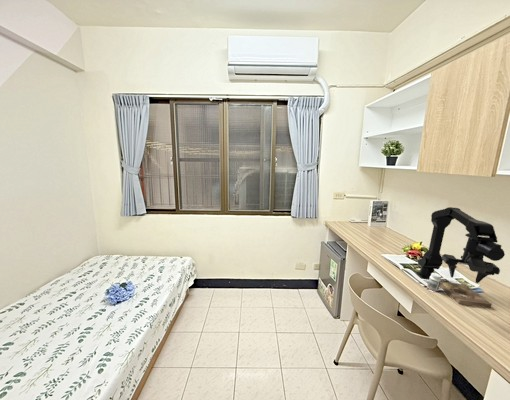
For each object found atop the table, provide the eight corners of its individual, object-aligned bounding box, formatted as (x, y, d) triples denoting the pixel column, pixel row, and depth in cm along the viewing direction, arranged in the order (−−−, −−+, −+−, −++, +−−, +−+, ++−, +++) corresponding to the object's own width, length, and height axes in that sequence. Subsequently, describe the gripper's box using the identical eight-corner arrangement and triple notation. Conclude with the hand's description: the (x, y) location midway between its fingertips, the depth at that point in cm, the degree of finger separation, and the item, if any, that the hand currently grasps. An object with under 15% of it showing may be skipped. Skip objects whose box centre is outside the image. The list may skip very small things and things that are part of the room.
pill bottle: (433, 286, 120) (436, 272, 118) (440, 291, 115) (444, 277, 114) (424, 285, 120) (428, 272, 118) (431, 291, 115) (435, 277, 113)
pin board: (436, 284, 122) (437, 280, 121) (463, 287, 120) (465, 284, 120) (458, 303, 106) (459, 299, 106) (490, 307, 105) (491, 303, 104)
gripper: (455, 252, 95) (445, 283, 99) (514, 263, 88) (500, 296, 92) (445, 242, 105) (437, 271, 109) (497, 251, 98) (486, 282, 102)
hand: (463, 279), depth 103 cm, fingers open, 9 cm apart
